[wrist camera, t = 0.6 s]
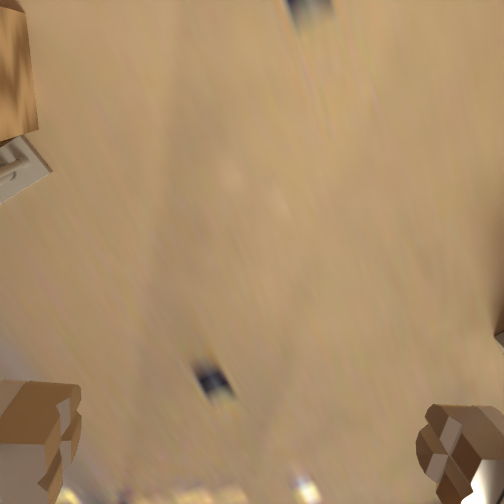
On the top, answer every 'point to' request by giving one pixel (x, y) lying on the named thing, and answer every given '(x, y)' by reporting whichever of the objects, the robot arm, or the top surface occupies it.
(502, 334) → the hard drive box
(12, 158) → the test tube rack
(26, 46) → the oak block
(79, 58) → the top surface
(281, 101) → the top surface
